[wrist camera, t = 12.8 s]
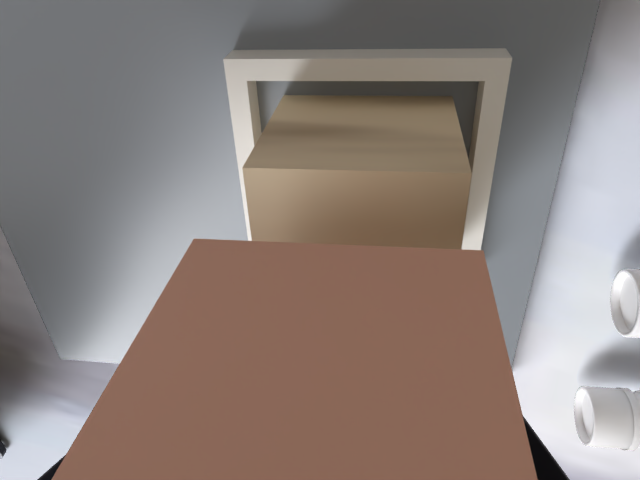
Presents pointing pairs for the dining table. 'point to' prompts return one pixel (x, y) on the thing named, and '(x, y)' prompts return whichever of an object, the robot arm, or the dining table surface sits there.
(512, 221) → the building board
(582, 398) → the binoculars
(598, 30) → the dining table surface
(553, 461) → the robot arm
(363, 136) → the maple block
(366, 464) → the terracotta block
